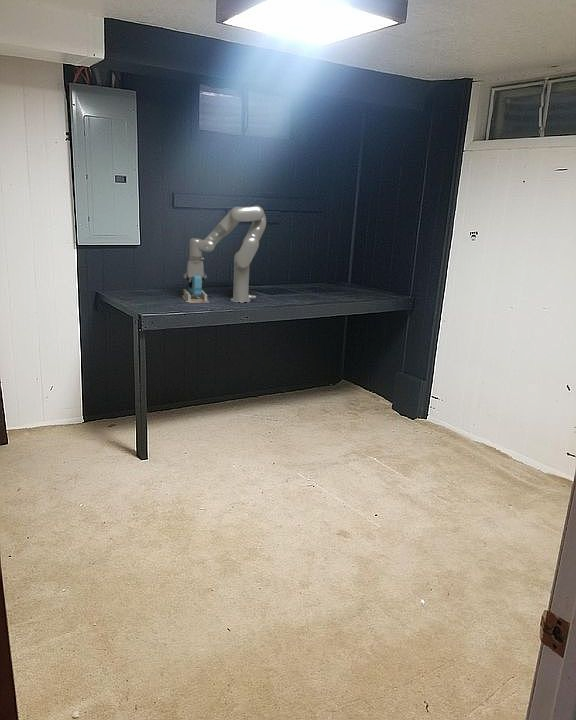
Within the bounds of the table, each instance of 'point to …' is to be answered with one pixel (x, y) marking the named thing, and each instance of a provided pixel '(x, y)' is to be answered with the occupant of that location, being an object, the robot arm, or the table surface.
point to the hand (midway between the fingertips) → (195, 288)
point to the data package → (196, 286)
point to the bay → (195, 297)
